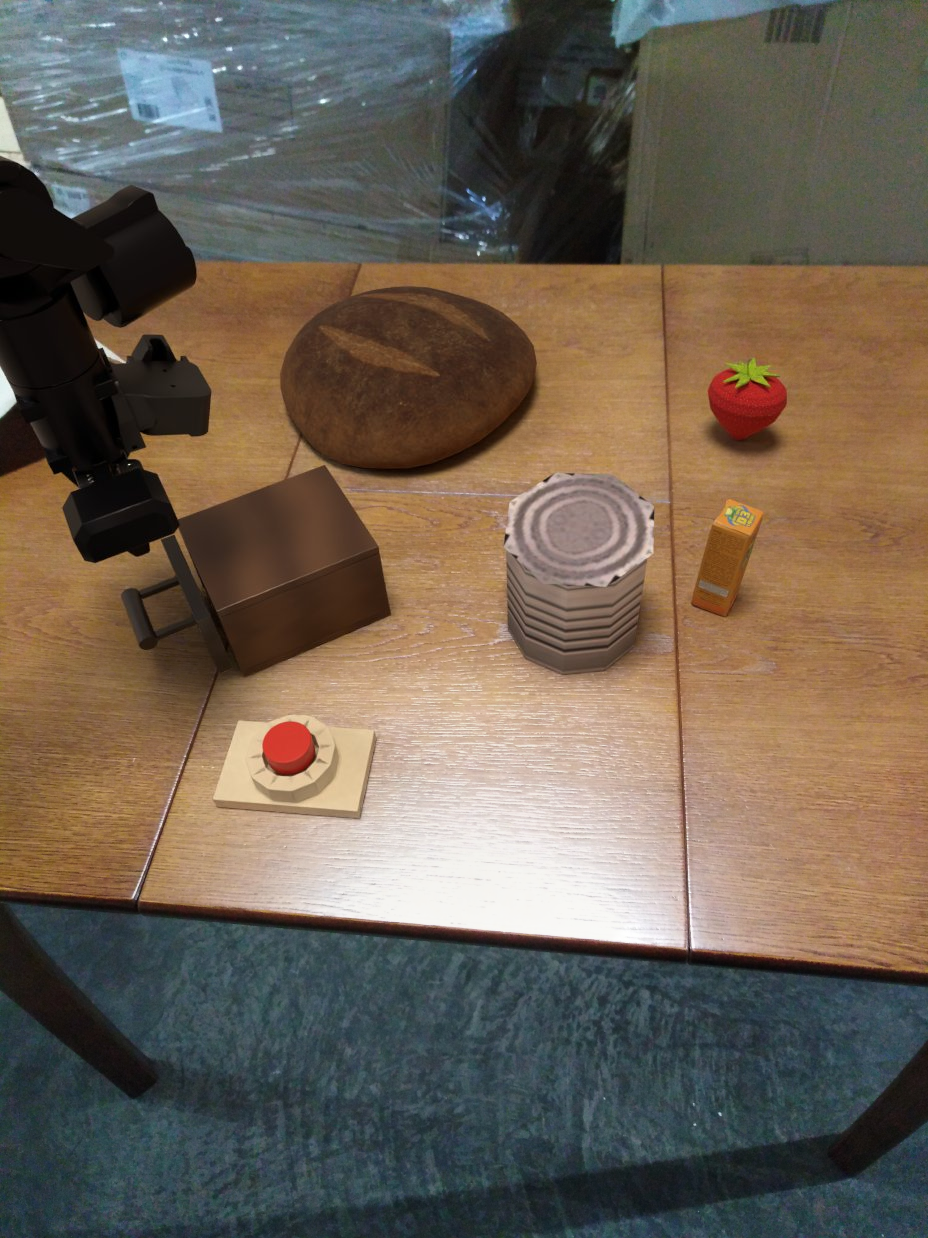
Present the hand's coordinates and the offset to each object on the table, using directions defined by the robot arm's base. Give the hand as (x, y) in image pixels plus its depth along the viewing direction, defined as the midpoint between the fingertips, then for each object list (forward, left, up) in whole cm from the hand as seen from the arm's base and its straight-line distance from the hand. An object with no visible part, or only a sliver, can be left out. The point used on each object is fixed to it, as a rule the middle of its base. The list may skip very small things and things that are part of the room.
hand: (137, 539), depth 67 cm
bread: (+32, +22, -13) cm, 41 cm away
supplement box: (+42, -19, -13) cm, 48 cm away
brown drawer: (+5, 0, -12) cm, 13 cm away
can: (+30, -15, -13) cm, 36 cm away
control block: (+4, -17, -13) cm, 21 cm away
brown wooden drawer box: (+10, 0, -13) cm, 16 cm away
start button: (+4, -17, -10) cm, 20 cm away
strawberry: (+57, -3, -13) cm, 59 cm away
